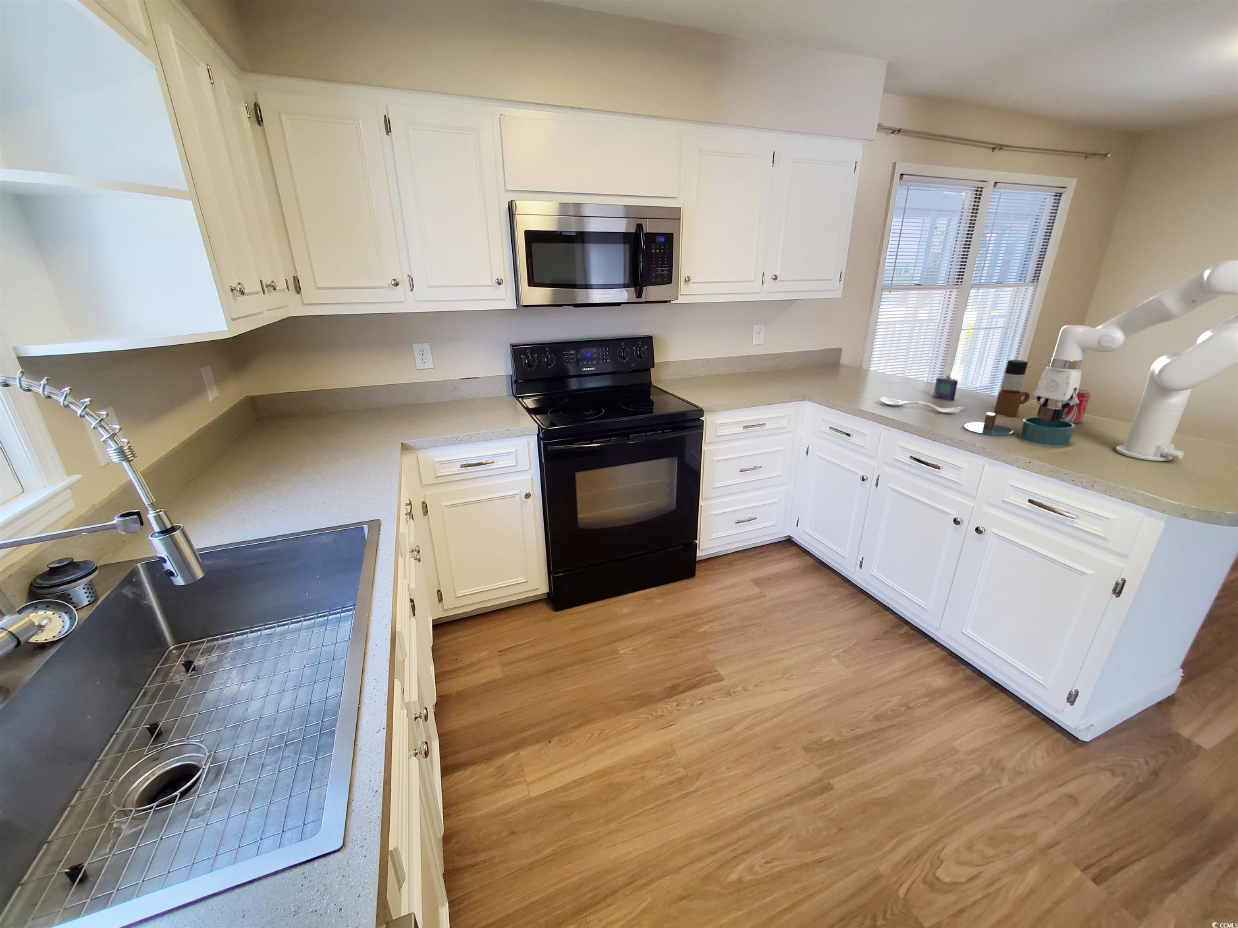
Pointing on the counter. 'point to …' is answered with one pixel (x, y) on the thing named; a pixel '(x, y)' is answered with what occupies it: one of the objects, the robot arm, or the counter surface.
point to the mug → (1010, 402)
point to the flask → (945, 388)
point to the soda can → (1077, 408)
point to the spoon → (899, 403)
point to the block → (1047, 412)
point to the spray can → (1014, 375)
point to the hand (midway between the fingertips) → (1048, 417)
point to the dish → (1046, 431)
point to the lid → (988, 427)
